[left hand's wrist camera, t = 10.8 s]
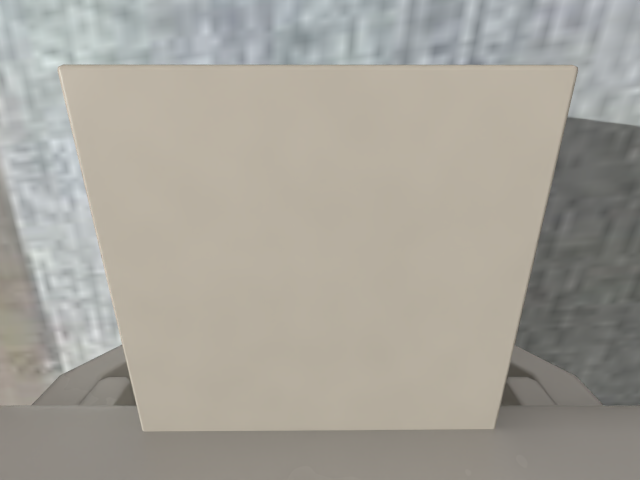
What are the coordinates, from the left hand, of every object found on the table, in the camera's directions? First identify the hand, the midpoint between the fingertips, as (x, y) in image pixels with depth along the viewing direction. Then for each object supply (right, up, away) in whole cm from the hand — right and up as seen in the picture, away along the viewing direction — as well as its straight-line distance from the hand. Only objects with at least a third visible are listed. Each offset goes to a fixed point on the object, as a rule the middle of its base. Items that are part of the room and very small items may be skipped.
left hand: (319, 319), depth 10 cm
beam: (0, -20, +11) cm, 23 cm away
